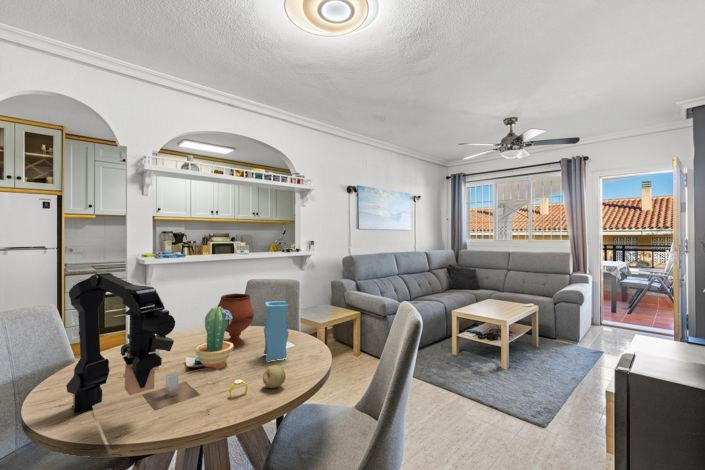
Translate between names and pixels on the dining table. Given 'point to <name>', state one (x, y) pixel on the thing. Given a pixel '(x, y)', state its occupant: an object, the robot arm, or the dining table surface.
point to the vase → (276, 330)
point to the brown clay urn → (237, 315)
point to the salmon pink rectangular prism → (132, 383)
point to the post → (171, 384)
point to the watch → (237, 384)
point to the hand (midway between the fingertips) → (139, 384)
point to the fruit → (274, 376)
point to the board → (161, 400)
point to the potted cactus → (215, 339)
